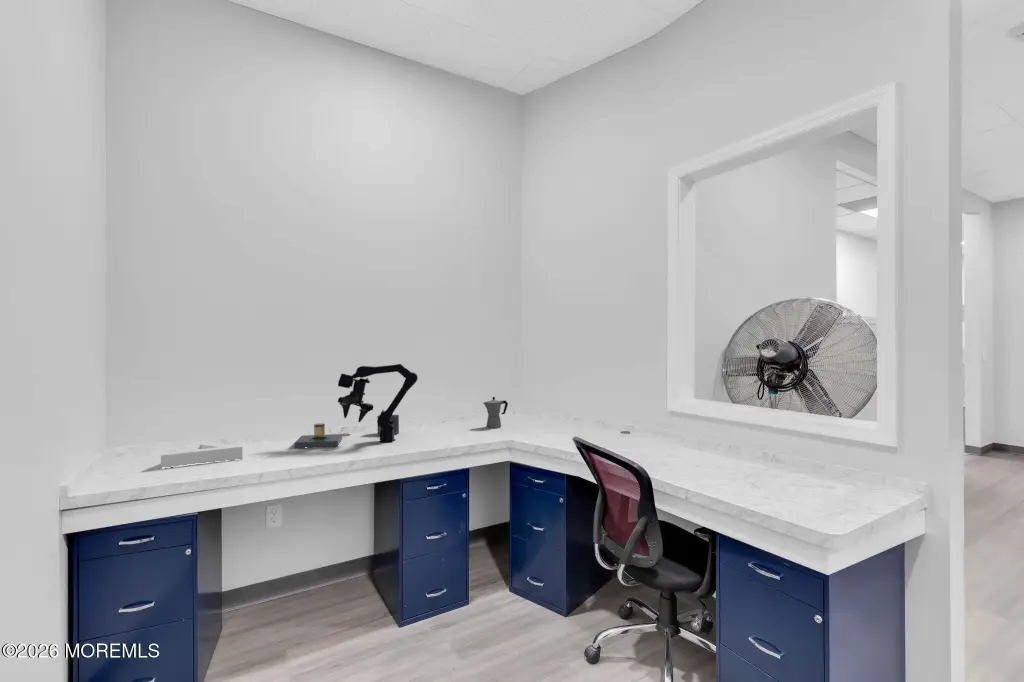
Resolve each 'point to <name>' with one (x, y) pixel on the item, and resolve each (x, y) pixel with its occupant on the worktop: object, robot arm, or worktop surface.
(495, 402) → the coffeepot
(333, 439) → the grey octagonal hole plate
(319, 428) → the cylinder
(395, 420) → the small box
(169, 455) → the triangle block
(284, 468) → the worktop surface
